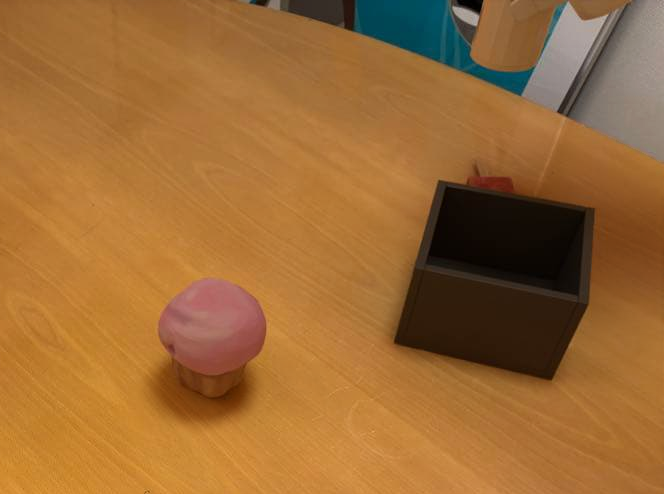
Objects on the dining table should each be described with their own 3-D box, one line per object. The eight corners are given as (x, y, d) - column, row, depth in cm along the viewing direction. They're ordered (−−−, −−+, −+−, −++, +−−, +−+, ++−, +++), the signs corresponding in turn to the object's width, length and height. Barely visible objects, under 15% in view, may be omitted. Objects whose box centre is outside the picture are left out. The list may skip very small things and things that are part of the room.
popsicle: (500, 149, 96) (534, 234, 87) (496, 163, 98) (528, 248, 88) (459, 149, 97) (487, 233, 87) (455, 162, 98) (482, 247, 88)
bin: (561, 284, 84) (595, 207, 77) (552, 380, 76) (589, 304, 69) (417, 254, 87) (438, 179, 81) (393, 343, 79) (414, 267, 73)
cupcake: (209, 332, 81) (214, 246, 73) (280, 381, 76) (293, 294, 69) (139, 381, 77) (136, 295, 70) (210, 435, 73) (215, 349, 65)
